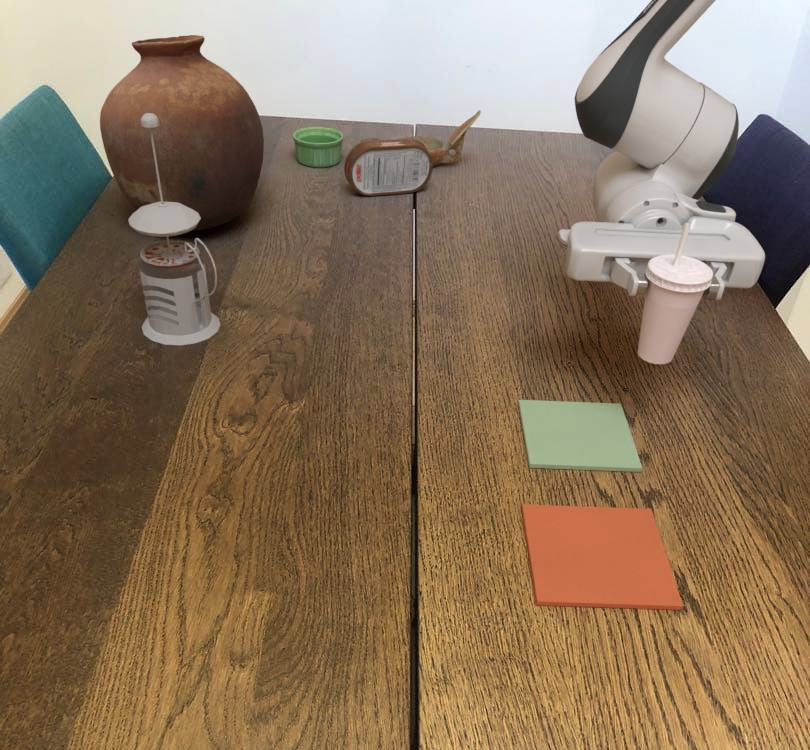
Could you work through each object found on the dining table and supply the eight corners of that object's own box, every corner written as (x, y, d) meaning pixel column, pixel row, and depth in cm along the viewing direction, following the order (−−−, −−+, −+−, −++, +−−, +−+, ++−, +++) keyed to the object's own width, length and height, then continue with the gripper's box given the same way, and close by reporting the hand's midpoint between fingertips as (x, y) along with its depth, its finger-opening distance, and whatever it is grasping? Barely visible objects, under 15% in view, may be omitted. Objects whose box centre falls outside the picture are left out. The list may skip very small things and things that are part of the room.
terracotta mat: (649, 513, 82) (651, 508, 82) (681, 610, 73) (683, 605, 72) (521, 508, 82) (522, 503, 81) (536, 605, 72) (537, 601, 72)
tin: (427, 186, 142) (430, 135, 137) (433, 193, 140) (436, 141, 134) (343, 193, 138) (343, 140, 133) (348, 200, 136) (348, 147, 131)
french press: (182, 299, 109) (151, 93, 92) (247, 327, 105) (227, 117, 87) (124, 327, 103) (80, 113, 86) (190, 359, 99) (157, 139, 81)
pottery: (227, 263, 117) (206, 68, 100) (88, 234, 122) (45, 43, 105) (293, 207, 133) (285, 30, 116) (167, 183, 138) (142, 10, 121)
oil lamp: (472, 178, 146) (478, 117, 139) (355, 165, 148) (355, 105, 141) (477, 161, 152) (483, 103, 146) (365, 149, 154) (366, 91, 148)
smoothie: (620, 337, 89) (653, 208, 79) (679, 341, 89) (719, 212, 79) (629, 369, 84) (666, 236, 74) (691, 373, 84) (736, 241, 75)
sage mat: (620, 407, 95) (621, 403, 95) (641, 472, 87) (642, 467, 86) (517, 403, 95) (518, 399, 95) (529, 468, 86) (529, 463, 86)
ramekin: (293, 151, 152) (292, 126, 149) (342, 152, 153) (342, 127, 150) (294, 169, 145) (293, 143, 142) (344, 169, 146) (344, 143, 143)
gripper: (560, 199, 88) (579, 255, 78) (747, 208, 89) (790, 265, 79) (550, 255, 92) (567, 315, 82) (729, 263, 93) (767, 324, 83)
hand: (678, 291), depth 81 cm, fingers closed on smoothie, 6 cm apart
